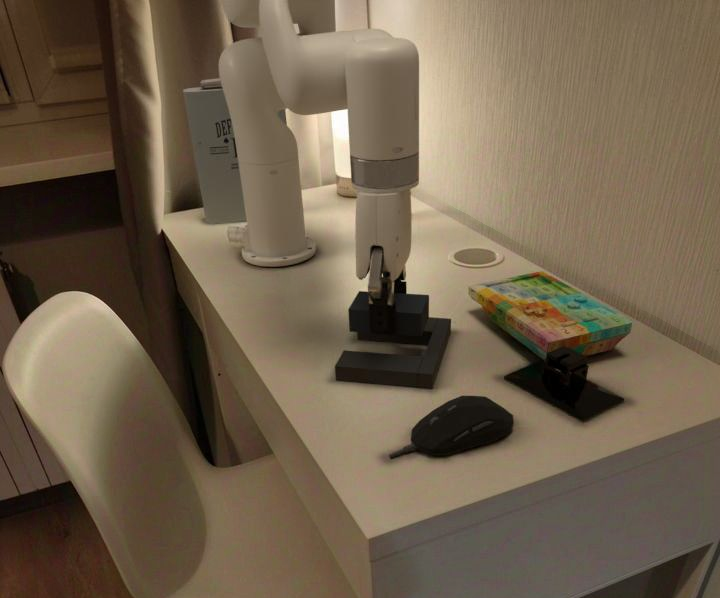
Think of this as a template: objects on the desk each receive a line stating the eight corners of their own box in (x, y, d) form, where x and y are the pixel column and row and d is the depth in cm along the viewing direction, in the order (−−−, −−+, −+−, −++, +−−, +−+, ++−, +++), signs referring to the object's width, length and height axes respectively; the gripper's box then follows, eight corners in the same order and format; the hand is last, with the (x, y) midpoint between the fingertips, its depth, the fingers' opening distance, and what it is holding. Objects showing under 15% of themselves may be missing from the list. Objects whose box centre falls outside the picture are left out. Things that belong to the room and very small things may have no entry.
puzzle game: (549, 335, 84) (468, 279, 100) (545, 371, 87) (467, 312, 103) (633, 316, 87) (542, 265, 103) (626, 351, 90) (539, 296, 106)
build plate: (502, 379, 88) (505, 344, 85) (545, 360, 91) (549, 326, 88) (582, 422, 79) (588, 385, 76) (626, 400, 82) (633, 364, 80)
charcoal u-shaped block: (432, 388, 86) (432, 374, 85) (335, 380, 89) (334, 366, 88) (450, 332, 98) (451, 318, 96) (364, 326, 100) (364, 312, 99)
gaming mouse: (376, 442, 78) (374, 411, 76) (491, 405, 83) (493, 375, 80) (404, 473, 74) (403, 441, 71) (524, 433, 78) (528, 401, 76)
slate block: (421, 336, 88) (421, 313, 86) (349, 331, 90) (348, 309, 88) (428, 317, 92) (429, 294, 90) (360, 312, 94) (359, 290, 92)
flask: (206, 225, 137) (180, 76, 121) (205, 218, 140) (179, 72, 125) (297, 214, 139) (283, 67, 124) (293, 207, 143) (279, 63, 127)
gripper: (369, 149, 87) (375, 292, 98) (330, 192, 74) (342, 352, 85) (431, 150, 85) (430, 295, 96) (402, 194, 72) (404, 356, 83)
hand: (388, 320), depth 90 cm, fingers closed on slate block, 5 cm apart
